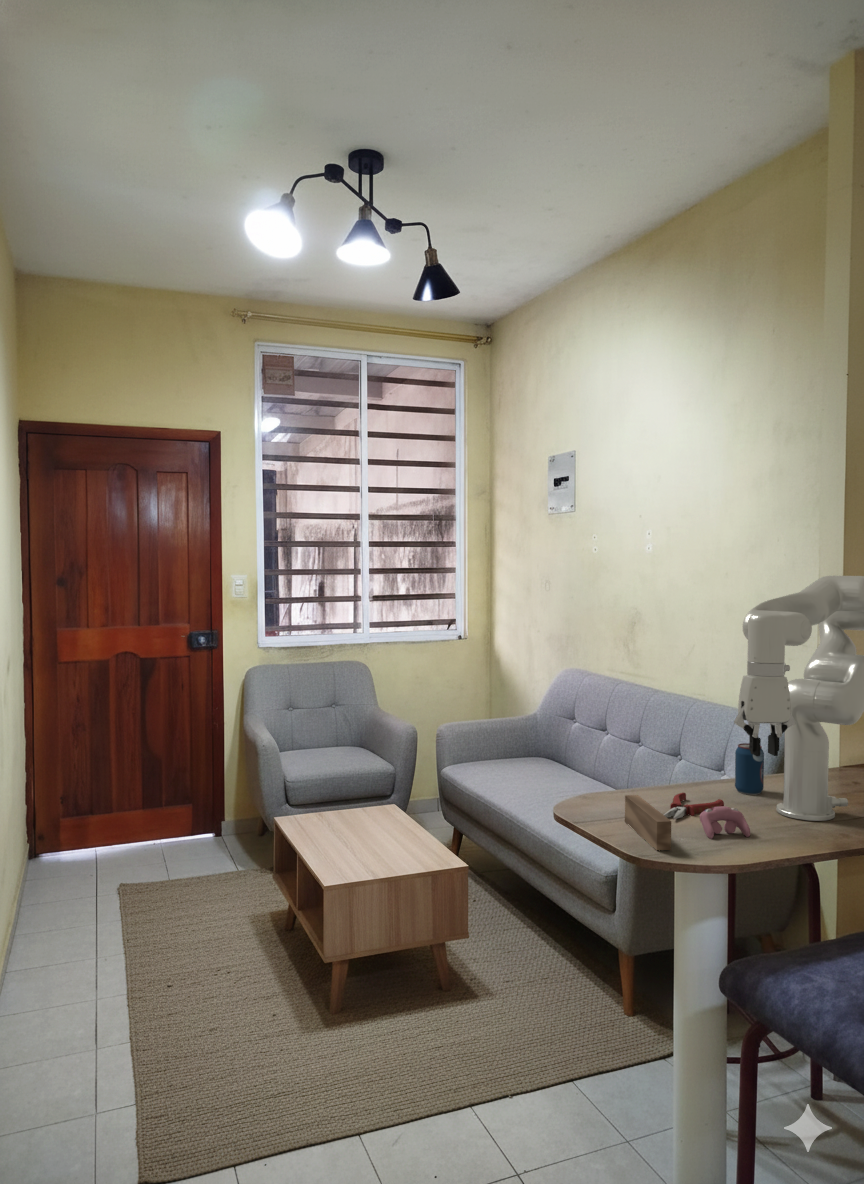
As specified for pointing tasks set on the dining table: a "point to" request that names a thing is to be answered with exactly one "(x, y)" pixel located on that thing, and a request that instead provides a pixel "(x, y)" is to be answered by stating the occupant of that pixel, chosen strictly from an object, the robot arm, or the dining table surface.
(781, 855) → the dining table surface
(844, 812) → the dining table surface
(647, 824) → the bar
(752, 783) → the soda can
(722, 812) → the video game controller
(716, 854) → the dining table surface
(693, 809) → the pliers
